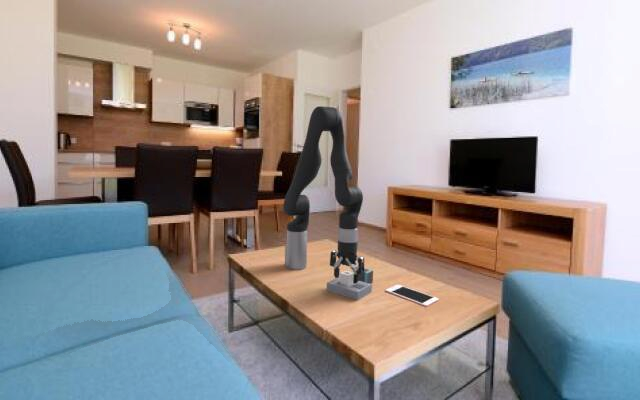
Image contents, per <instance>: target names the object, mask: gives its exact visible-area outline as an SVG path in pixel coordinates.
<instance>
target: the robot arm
mask: <svg viewBox="0 0 640 400" xmlns="http://www.w3.org/2000/svg"><path fill="white" fill-rule="evenodd" d="M310 114H311V115H310V118H309V122H308V127H307V132H306V136H305V140H304V142H303V147H302V149H301V152H300V153H301V154H300V157H299V158H298V162H297V165H296V168H295V173H294V176H293V178H292V180H291V181H292V182H291V183H290V186H289V187H288V190H287V192H286V195H285V198H284V200H283V207H282V209H283V212H284V214H285V215H287V216H289V217H295V216H296V217H295V218H294V219H293V220H292V221H290V222H288V223H287V224H286V245H284V246H285V247H284V266H285V267H286V268H288V269H289V270H303V269H306V268H307V258H308V257H307V256H308V255H307V254H308V253H307V252H308V226H309V223H310V210H311V206H310V204H311V203H310V198H309V197H308V196H307V195H305V194H302V192H303V191H304V190H305V189H307V188H306V187H308V186H310V184H311V183H312V182H313V181H314V180H315V179H316V178H317V175H318V174H319V170H320V168H321V166H322V160H323V159H322V154H321V149H320V140H321V136H322V133H323V132H329V133H330V135H331V138H332V148H331V152H330V153H331V154H330V167H331V170H332V174H333V177H334V196H335V200H336V202H337V203H338V204H339V205H340V206H342V207H345V210H343V211H341V212H340V214H339V218H338V220H339V221H338V230H337V250H336V249H335V250H331V251H330V256H329V257H330V258H329V266H330V267H333V276H334V279H336V278H338V277H340V272H341V271H340V270H341V269H340V267H341V265H343V266H347V267H349V268H350V270H352V272H353V273H354V277H353V283H354V284H356V283H357V282H359V274H361V273H363V272H364V269H365V257H364V256H360V257H359V256H358V255H357V253H358V244H359V243H358V241H359V232H358V231H359V230H358V226H359V215H360V213H361V208H362V206H363V201H364V194H363V191H362V189H361V188H360V187H358V186H349V181H351V180H352V179H353V178H354V174H353V170H352V167H351V164H350V159H349V155H348V153H347V148H346V147H347V146H346V138H345V130H344V125H343V124H344V123H343V118H342V114H341V111H340V110H339V109H338V108H336V107H333V106H316V107H315V108H314V109H313V110H312V112H311V113H310ZM337 258H338V259H337Z"/></svg>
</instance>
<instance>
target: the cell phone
mask: <svg viewBox="0 0 640 400" xmlns="http://www.w3.org/2000/svg"><path fill="white" fill-rule="evenodd" d="M384 292H386V293H387V294H388V293H389V294H391V295H394V296H395V297H396V296H397V297H399V298H402V299H404V300H408V301H410V302H412V303H415V304H417V305H421V306H423V307H426V308H427V307H429V306H431V305H433V304H435V303H437V302H438V301H439V298H438V297H436V296H432V295H429V294H427V293H423V292H421V291H418V290H416V289H412V288H409V287H406V286H405V285H401V284H395V285H393V286H391V287H389V288H386V289H385V290H384Z"/></svg>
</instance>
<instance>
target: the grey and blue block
mask: <svg viewBox="0 0 640 400" xmlns="http://www.w3.org/2000/svg"><path fill="white" fill-rule="evenodd" d="M359 281H362V282H365V283H369V284H373V283H374V270H372V269H368V268H364V272H363V273H361V274H359Z"/></svg>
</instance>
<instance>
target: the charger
mask: <svg viewBox="0 0 640 400" xmlns="http://www.w3.org/2000/svg"><path fill="white" fill-rule="evenodd" d="M339 277H340V284H342V285H346V286H349V285H351V284H353V277H354V272H353V271H348V270H344V271H340V272H339Z"/></svg>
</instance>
